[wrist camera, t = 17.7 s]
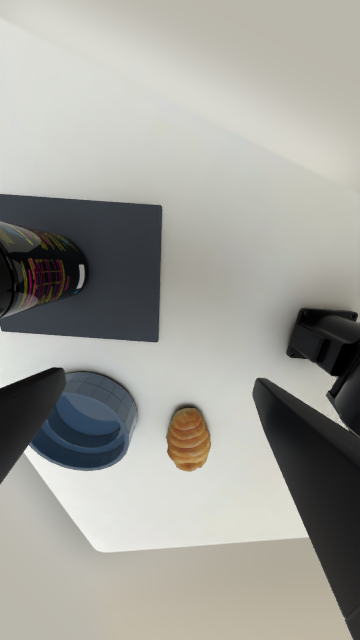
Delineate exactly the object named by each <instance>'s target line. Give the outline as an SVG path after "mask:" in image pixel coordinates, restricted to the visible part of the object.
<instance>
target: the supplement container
mask: <svg viewBox="0 0 360 640" xmlns="http://www.w3.org/2000/svg"><path fill="white" fill-rule="evenodd" d="M88 277H89V268H88V263H87V260H86V258H85V256H84V254H83V253H82V251H81V250H80V249H79V247H78V246H77V245H76V244H75V243H73V242H72V241H71V240H70V239H68V238H66V237H64V236H62V235H60V234H56V233H52V232H47V231H43V230H39V229H34V228H30V227H26V226H22V225H17V224H13V223H9V222H4V221H0V319H1V318H3V317H7V316H10V315H13V314H17V313H20V312H23V311H27V310H30V309H33V308H37V307H40V306H43V305H47V304H50V303H53V302H57V301H60V300H63V299H67V298H70V297H73V296H75V295H77V294H79V293H80V292H81V291H82V290H83V289H84V287H85V286H86V284H87V281H88Z"/></svg>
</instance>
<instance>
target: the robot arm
mask: <svg viewBox="0 0 360 640" xmlns="http://www.w3.org/2000/svg"><path fill="white" fill-rule="evenodd" d="M305 311H306V313H305V314H304V312H305ZM351 316H352V317H351ZM357 317H358V314H357V313H356V312H352V311H340V310H325V309H311V308H303V309H301V310H300V313H299V316H298V319H297V322H296V325H295V327H294V331H293V334H292V337H291V340H290V344H289V347H288V351H287V355H288V356H289V357H290V358H301V359H309V360H310V361H312V362H313V363H315V364H317V365H318V366H319V367H321V368H322V369H323V370H324V371H326V372H327V373H328V374H330V375H331V376H335V377H336V378H337V380H336V382H335V383H334V385H333V387H332V388H331V390H330V391H328V392H327V394H326V396H327V398H328V399H329V401H330V402H331V404H332V405H333V407H334V408H335V410H336V411H337V413H338V414H339V417H340V419H341V421H342V422H343V423H344V424H345V425H346V427H347V428H348V429H349V431H348V430H347V429H345V428H343V427H342V426H340V425H339V424H337V423H336V422H334V421H332V420H331V419H329V418H328V417H326V416H325V415H323V414H321V413H320V412H318V411H317V410H315V409H313V408H312V407H310V406H309V405H307V404H306V403H304V402H302V401H301V400H299V399H298V398H296V397H295V396H293V395H291V394H290V393H288V392H287V391H285V390H284V389H282V388H280V387H279V386H277V385H276V384H274V383H273V382H271V381H269V380H268V379H266V378H257V379H256V381H255V384H254V388H253V399H254V402H255V405H256V408H257V411H258V414H259V417H260V421H261V424H262V427H263V430H264V432H265V435H266V437H267V440H268V442H269V444H270V447H271V449H272V451H273V454H274V456H275V458H276V461H277V463H278V465H279V468H280V470H281V472H282V475H283V477H284V479H285V482H286V484H287V486H288V489H289V491H290V493H291V496H292V498H293V500H294V503H295V505H296V507H297V510H298V512H299V514H300V517H301V519H302V521H303V524H304V526H305V528H306V531H307V533H308V535H309V538H310V540H311V542H312V544H313V547H314V549H315V552H316V554H317V556H318V558H319V561H320V563H321V566H322V568H323V570H324V572H325V575H326V577H327V579H328V582H329V584H330V587H331V589H332V591H333V593H334V596H335V598H336V601H337V603H338V605H339V607H340V610H341V612H342V615H343V616H344V618H345V622H346V624H347V627H348V629H349V631H350V634H351V636H352V638H353V640H360V323H357V322H356V319H357ZM291 353H292V354H291ZM66 383H67V382H66V377H65V372H64V369H63V368H57V367H53V368H50V369H47V370H45V371H42V372H40V373H37V374H35V375H32V376H30V377H27V378H25V379H22V380H20V381H17V382H15V383H12V384H10V385H7V386H5V387H2V388H0V484H1V483H2V481H3V480H4V478H5V477H6V476H7V474H8V473H9V471H10V470H11V469H12V467H13V466H14V465H15V463H16V462H17V460H18V459H19V458H20V456H21V455H22V453H23V452H24V451H25V449H26V448H27V446H28V445H29V444H30V442H31V441H32V439H33V438H34V437H35V435H36V434H37V432H38V431H39V430H40V428H41V427H42V425H43V424H44V422H45V421H46V419H47V418H48V416H49V415H50V413H51V411H52V410H53V408H54V406H55V404H56V403H57V401H58V399H59V398H60V396H61V394H62V393H63V391H64V389H65V387H66Z"/></svg>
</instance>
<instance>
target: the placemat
mask: <svg viewBox="0 0 360 640" xmlns="http://www.w3.org/2000/svg"><path fill="white" fill-rule="evenodd" d="M161 220H162V206H161V205H148V204H134V203H119V202H105V201H91V200H77V199H63V198H48V197H34V196H20V195H6V194H0V221H4V222H9V223H13V224H17V225H22V226H26V227H30V228H34V229H39V230H43V231H47V232H52V233H56V234H60V235H62V236H64V237H66V238H68V239H70V240H71V241H72V242H73V243H75V244H76V245H77V246H78V247H79V249H80V250H81V251H82V253H83V254H84V256H85V258H86V260H87V263H88V268H89V277H88V281H87V284H86V286H85V287H84V289H83V290H82V291H81V292H80V293H79V294H77V295H75V296H73V297H70V298H67V299H63V300H60V301H57V302H53V303H50V304H47V305H43V306H40V307H37V308H33V309H30V310H27V311H23V312H20V313H17V314H13V315H10V316H7V317H3V318H1V319H0V327H1V330H2V331H5V332H19V333H33V334H47V335H61V336H75V337H89V338H103V339H117V340H131V341H145V342H158V332H159V295H160V257H161Z"/></svg>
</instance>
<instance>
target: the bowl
mask: <svg viewBox="0 0 360 640" xmlns="http://www.w3.org/2000/svg"><path fill="white" fill-rule="evenodd" d="M65 377H66V382H67V383H66V387H65V389H64V391H63V393H62V394H61V396H60V398H59V399H58V401H57V403H56V404H55V406H54V408H53V410H52V411H51V413H50V415H49V416H48V418H47V419H46V421H45V422H44V424H43V425H42V427H41V428H40V430H39V431H38V432H37V434H36V435H35V437H34V438H33V439H32V441H31V442H30V444H29V446H30V447H31V448H32V449H33V450H34V451H35V452H37V453H38V454H39V455H40V456H42V457H43V458H45V459H46V460H48V461H50V462H52V463H54V464H57V465H59V466H61V467H65V468H69V469H73V470H82V471H93V470H100V469H104V468H107V467H110V466H112V465H114V464H116V463H117V462H119V461H120V460H121V459H122V458H123V457H124V455H125V454H126V453H127V450H128V447H129V444H130V441H131V438H132V434H133V431H134V428H135V424H136V421H137V409H136V407H135V404H134V401H133V399H132V398H131V397H130V395H129V394H128V393H127V391H126V390H124V389H123V388H122V387H121V386H120V385H119V384H117V383H116V382H114V381H112V380H110V379H108V378H106V377H104V376H101V375H97V374H94V373H87V372H74V373H68V374H65Z"/></svg>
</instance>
